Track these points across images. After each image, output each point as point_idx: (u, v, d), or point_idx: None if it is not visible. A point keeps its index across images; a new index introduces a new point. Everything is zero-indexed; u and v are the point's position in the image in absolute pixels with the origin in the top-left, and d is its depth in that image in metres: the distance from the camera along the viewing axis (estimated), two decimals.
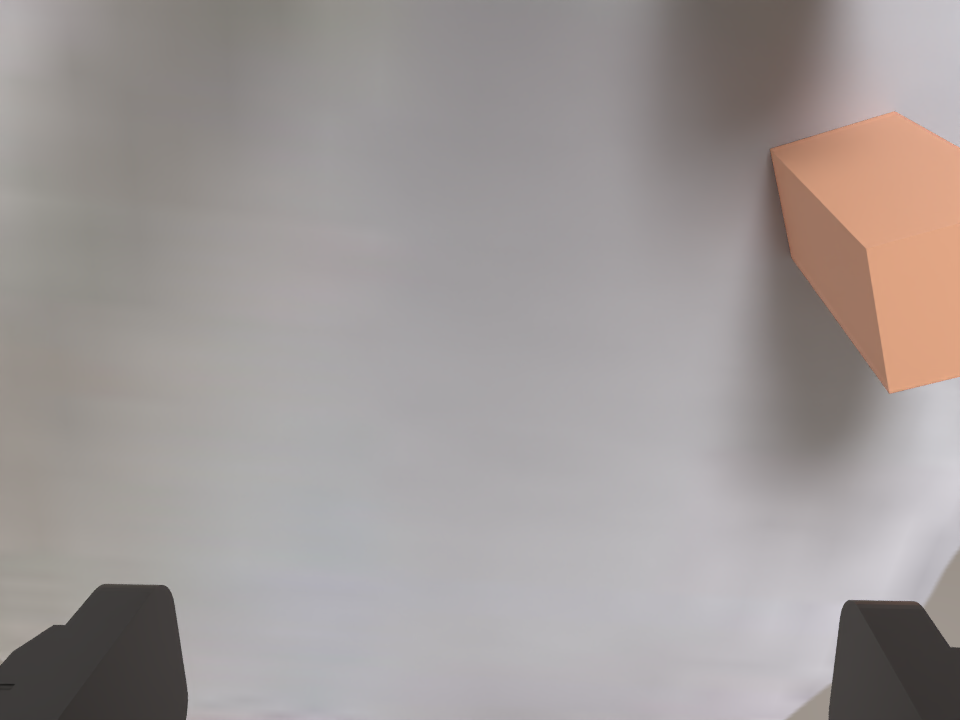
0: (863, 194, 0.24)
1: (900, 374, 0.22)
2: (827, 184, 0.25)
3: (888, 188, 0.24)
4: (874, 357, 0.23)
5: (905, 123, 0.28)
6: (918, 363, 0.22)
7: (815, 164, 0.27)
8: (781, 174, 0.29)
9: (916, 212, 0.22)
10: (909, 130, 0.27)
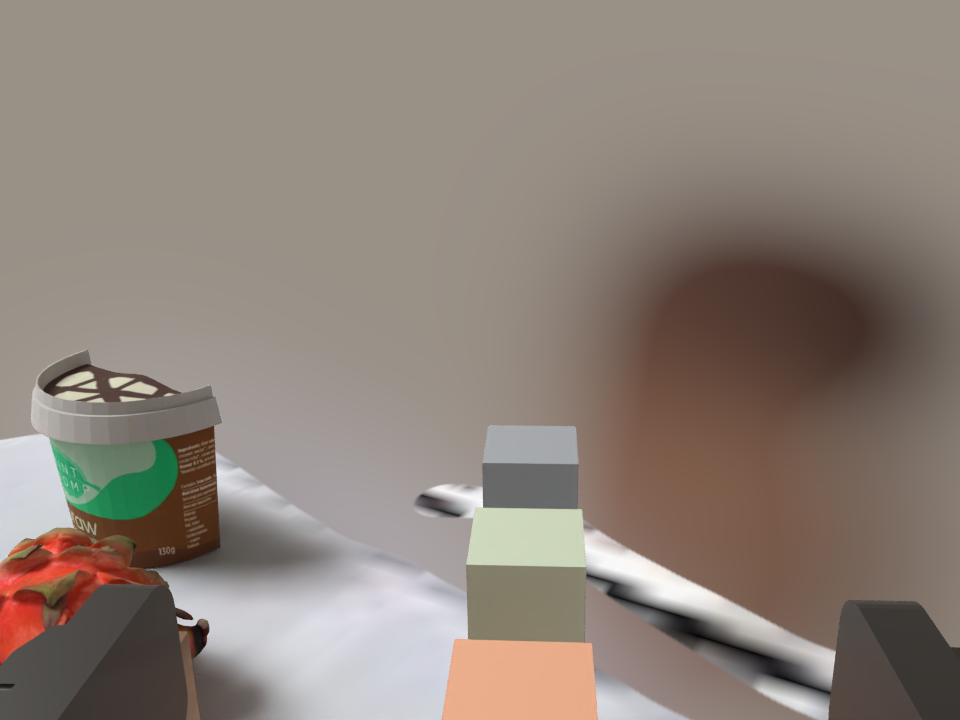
0: None
1: None
2: None
3: None
4: None
5: None
6: (572, 719, 0.23)
7: None
8: None
9: None
10: None
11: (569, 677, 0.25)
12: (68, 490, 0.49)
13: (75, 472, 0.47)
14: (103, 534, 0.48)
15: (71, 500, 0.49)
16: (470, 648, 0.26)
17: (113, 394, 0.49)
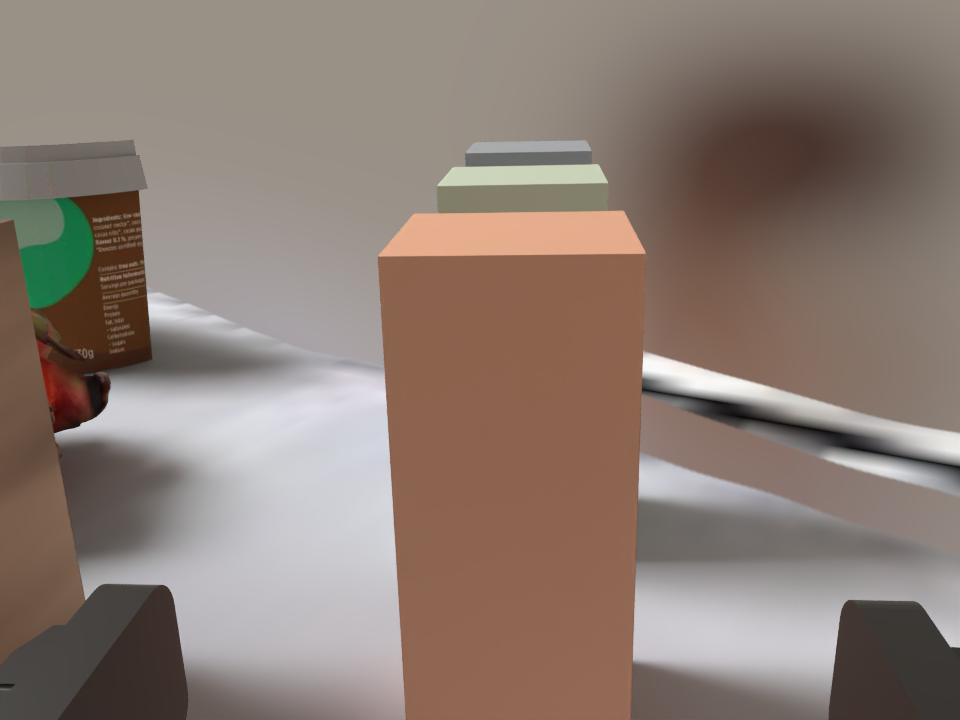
0: None
1: (612, 249, 0.14)
2: None
3: None
4: (602, 309, 0.14)
5: None
6: (599, 243, 0.14)
7: None
8: None
9: None
10: None
11: (591, 225, 0.16)
12: None
13: None
14: None
15: None
16: (438, 217, 0.17)
17: None
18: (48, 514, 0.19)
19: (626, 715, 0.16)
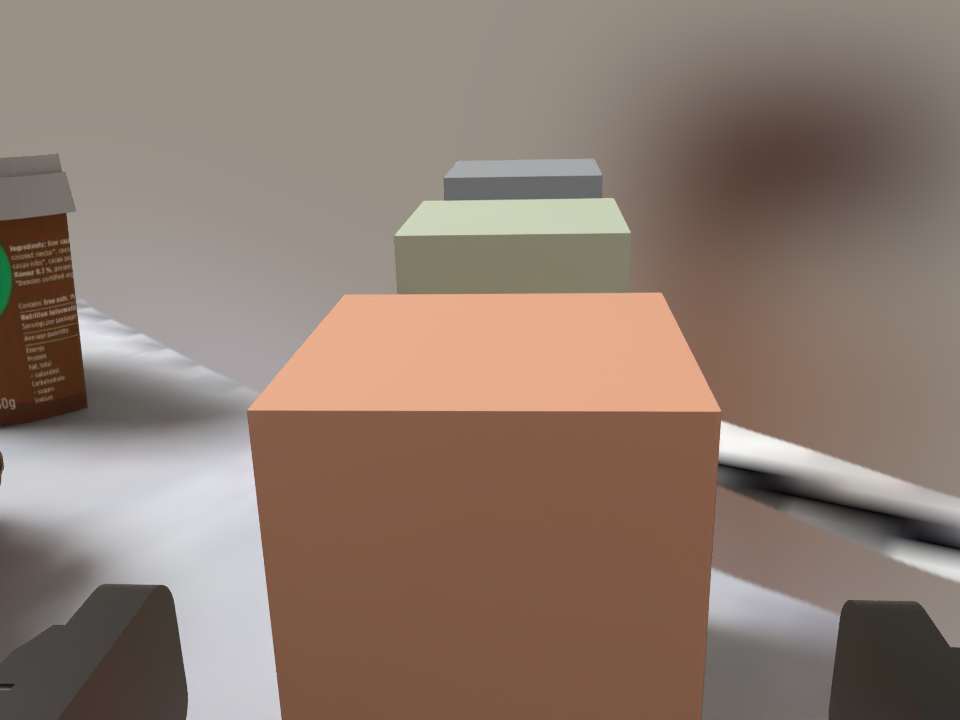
0: None
1: (658, 397, 0.08)
2: None
3: None
4: (641, 502, 0.08)
5: None
6: (633, 379, 0.08)
7: None
8: None
9: None
10: None
11: (615, 327, 0.10)
12: None
13: None
14: None
15: None
16: (379, 302, 0.11)
17: None
18: None
19: None
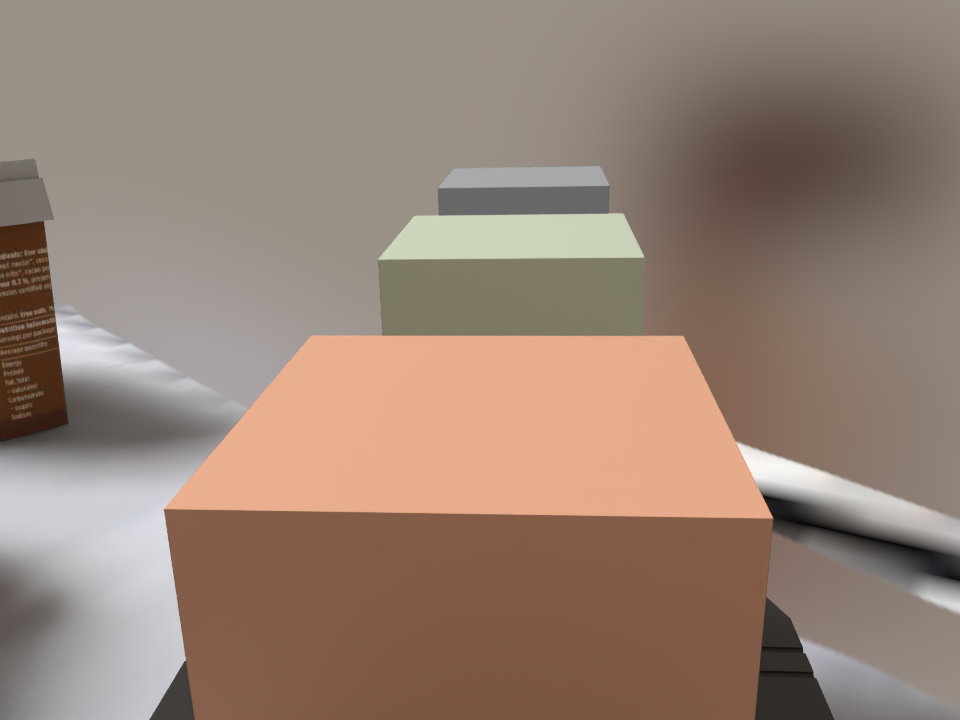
0: None
1: (690, 493, 0.06)
2: None
3: None
4: (667, 629, 0.06)
5: None
6: (658, 464, 0.07)
7: None
8: None
9: None
10: None
11: (632, 386, 0.08)
12: None
13: None
14: None
15: None
16: (350, 347, 0.09)
17: None
18: None
19: None
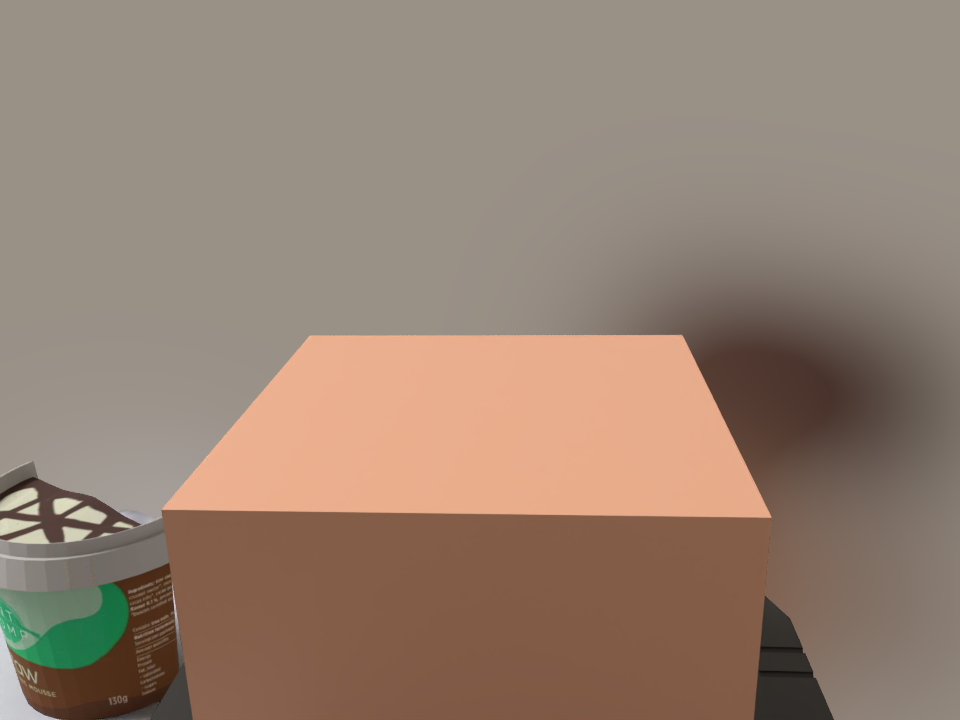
0: None
1: (689, 493, 0.06)
2: None
3: None
4: (666, 629, 0.06)
5: None
6: (656, 465, 0.07)
7: None
8: None
9: None
10: None
11: (630, 385, 0.08)
12: (5, 632, 0.43)
13: (10, 616, 0.42)
14: (45, 683, 0.43)
15: (9, 643, 0.43)
16: (349, 347, 0.09)
17: (56, 524, 0.43)
18: None
19: None
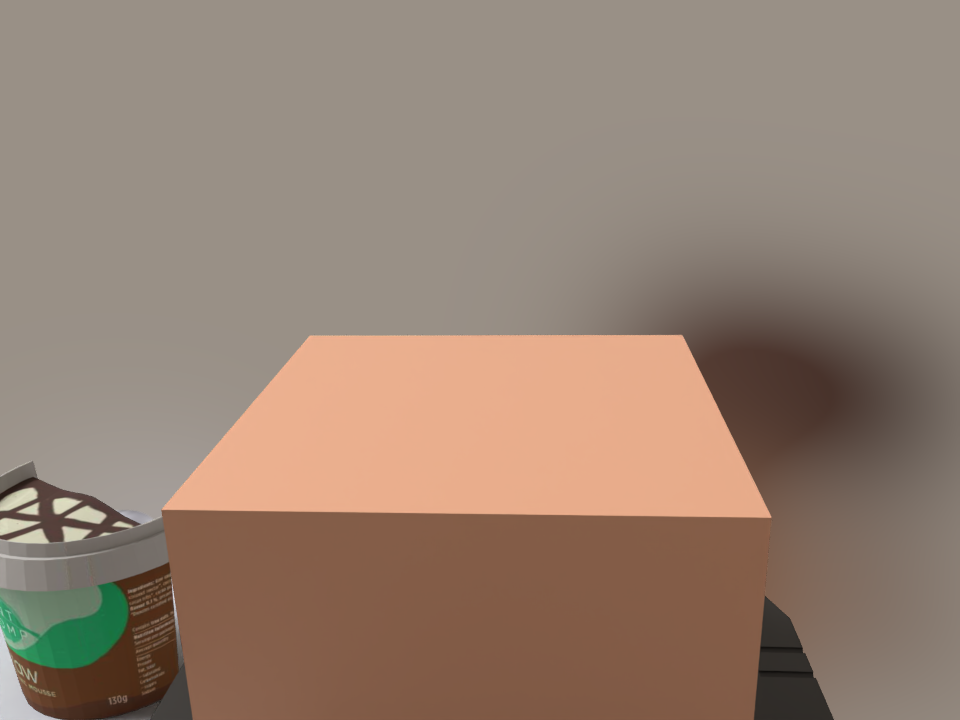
0: None
1: (689, 493, 0.06)
2: None
3: None
4: (666, 629, 0.06)
5: None
6: (655, 465, 0.07)
7: None
8: None
9: None
10: None
11: (630, 385, 0.08)
12: (5, 632, 0.43)
13: (10, 616, 0.42)
14: (45, 683, 0.43)
15: (9, 643, 0.43)
16: (349, 348, 0.09)
17: (56, 524, 0.43)
18: None
19: None
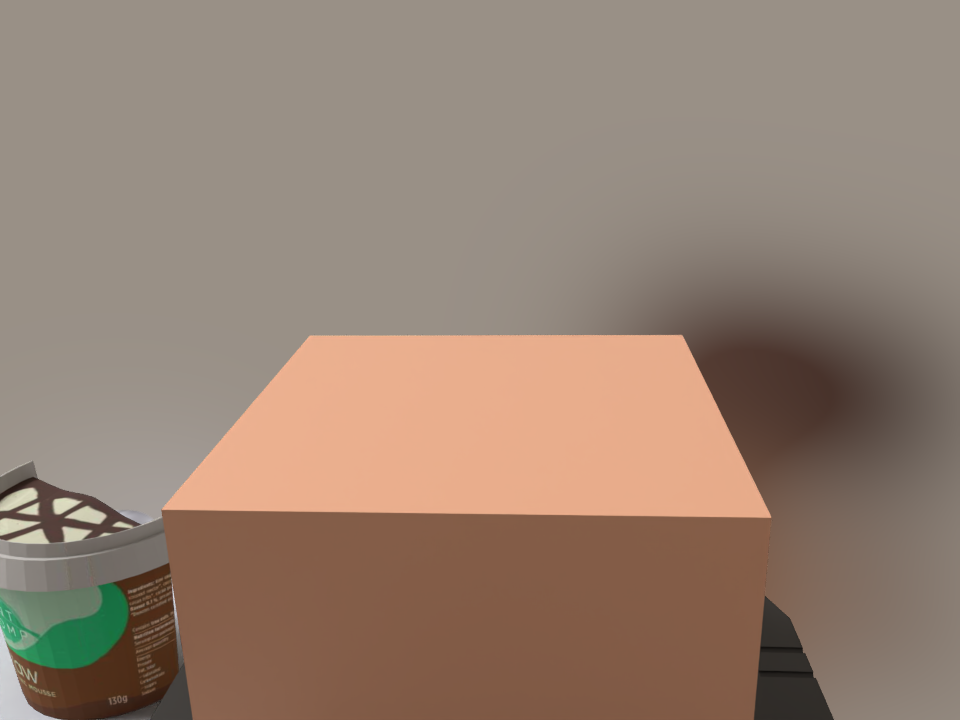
0: None
1: (688, 493, 0.06)
2: None
3: None
4: (665, 629, 0.06)
5: None
6: (655, 465, 0.07)
7: None
8: None
9: None
10: None
11: (630, 385, 0.08)
12: (5, 632, 0.43)
13: (10, 616, 0.42)
14: (45, 683, 0.43)
15: (9, 643, 0.43)
16: (349, 348, 0.09)
17: (56, 524, 0.43)
18: None
19: None
